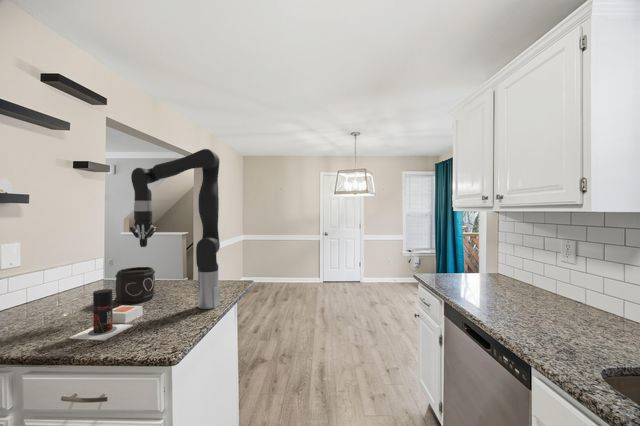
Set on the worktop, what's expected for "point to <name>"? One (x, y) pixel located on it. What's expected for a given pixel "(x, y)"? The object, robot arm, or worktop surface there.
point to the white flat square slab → (91, 335)
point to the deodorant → (102, 311)
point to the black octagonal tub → (135, 285)
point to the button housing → (127, 314)
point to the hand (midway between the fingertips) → (143, 246)
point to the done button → (123, 309)
